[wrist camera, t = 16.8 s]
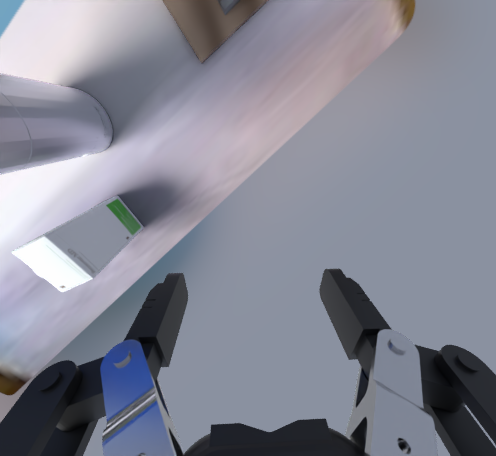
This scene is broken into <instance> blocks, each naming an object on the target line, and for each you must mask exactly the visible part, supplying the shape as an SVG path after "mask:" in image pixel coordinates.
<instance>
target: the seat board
mask: <svg viewBox="0 0 496 456" xmlns="http://www.w3.org/2000/svg"><path fill="white" fill-rule="evenodd" d="M267 1H268V0H163V2H164V4H165V5H166V7H167V8H168V10H169V12H170V13H171V15H172V16H173V18H174V20H175V21H176V23H177V24H178V26H179V28H180V29H181V31H182V33H183V34H184V36H185V37H186V39H187V41H188V42H189V44H190V45H191V47H192V49H193V50H194V52H195V53H196V55H197V57H198V58H199V60H200V62H201V63H203V62H204V61H205V60H206V59H207V58H208V57H209V56H210V55H211V54H212V53H213V52H214V51H216V50H217V49H218V48H219V47H220V46H221V45H222V44H223V43H224V42H225V41H226V40H227V39H228V38H229V37H230V36H231V35H232V34H233V33H235V32H236V31H237V30H238V29H239V28H240V27H241V26H242V25H243V24H244V23H245V22H246V21H247V20H248V19H249V18H250V17H251V16H252V15H254V14H255V13H256V12H257V11H258V10H259V9H260V8H261V7H262V6H263V5H264V4H265V3H266V2H267Z"/></svg>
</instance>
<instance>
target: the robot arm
mask: <svg viewBox="0 0 496 456" xmlns="http://www.w3.org/2000/svg"><path fill="white" fill-rule="evenodd" d="M112 137H113V129H112V125H111V121H110V119H109V116H108V115H107V113H106V111H105V110H104V108H103V107H102V106H101V105H100V103H99V102H98V101H97V100H95V99H94V98H93V97H92V96H90V95H89V94H87V93H86V92H84V91H81V90H79V89H75V88H70V87H65V86H60V85H56V84H51V83H46V82H41V81H36V80H31V79H26V78H21V77H16V76H11V75H6V74H1V73H0V175H1V174H5V173H10V172H14V171H18V170H23V169H27V168H32V167H36V166H41V165H45V164H50V163H54V162H59V161H63V160H68V159H72V158H77V157H81V156H86V155H90V154H95V153H99V152H102V151H104V150H106V149H107V148H108V146H109V145H110V143H111V141H112ZM320 296H321V300H322V302H323V304H324V306H325V308H326V311H327V313H328V315H329V317H330V319H331V322H332V323H333V326H334V328H335V330H336V332H337V335H338V337H339V339H340V341H341V343H342V346H343V348H344V350H345V352H346V354H347V356H348V358H349V360H351V359H358V361H359V363H360V365H361V366H360V368H359V373H358V379H357V385H356V391H355V397H354V403H353V408H352V412H351V416H350V418H349V421H348V425H347V429H346V434H345V436H344V435H342V434H341V433H339V432H337V431H335V430H333V429H331V428H328V425H327V422H326V419H310V420H297V421H295V422H293V423H291V424H288V425H286V426H284V427H282V428H280V429H278V430H275V431H273V432H266V431H262V430H259V429H256V428H253V427H250V426H246V425H244V424H240V423H235V424H217V425H211V433H210V434H208V435H206V436H204V437H203V438H201V439H199V440H198V441H197V442H195V443H194V444H193V445H192V446H191V447H190V448H189V449H188V450H187V451H186V452H185V453H184V451H183V448H182V445H181V442H180V439H179V436H178V434H177V431H176V429H175V426H174V424H173V421H172V419H171V416H170V413H169V410H168V407H167V404H166V402H165V398H164V395H163V393H162V390H161V387H160V384H159V381H158V378H157V377H158V374H159V371H160V368H161V367H169V364H170V360H171V357H172V354H173V350H174V347H175V343H176V340H177V336H178V333H179V329H180V326H181V323H182V319H183V315H184V312H185V309H186V305H187V301H188V291H187V287H186V283H185V278H184V275H183V273H171V274H170V273H169V274H168V275H167V276H166V278H165V281H164V283H160V284H159V283H158V284H157V285H156V286H155V287H154V288H153V289H152V290H151V291H150V292H149V294H148V296H147V298H146V301H145V302H144V304H143V305H142V309H140V311H139V313H138V315H137V317H136V319H135V321H134V323H133V324H132V326H131V328H130V330H129V332H128V334H127V336H126V338H125V339H124V341H123V342H121V343H119V344H117V345H116V346H114V347H113V348H112V349H111V350H110V351H109V352H108V353H107V354H106V355H105V356H104V357H102V358H99V359H97V360H94V361H91V362H88V363H85V364H82V365H79V366H76V365H75V363H74V362H72V361H69V360H68V361H67V360H66V361H61V362H58V363H56V364H54V365H52V366H50V367H48V368H46V369H45V370H44V371H42V372H41V373H40V374H39V375H38V376H37V377H36V378H35V379H34V380H33V381H32V382H31V383H30V384H29V386H28V387H27V389H26V390H25V391H24V393H23V394H22V395H21V396H20V398H19V399H18V401H17V402H16V403H15V404H14V406H13V407H12V408H11V410H10V411H9V412H8V414H7V415H6V416H5V418H4V419H3V420H2V422H1V423H0V456H83V454H84V452H85V449H86V447H87V445H88V442H89V440H90V438H91V436H92V433H93V431H94V429H95V426H96V424H97V422H98V419H99V418H102V417H104V416H106V418H107V427H106V429H105V430H104V432H103V436H102V445H103V455H104V456H438V453H437V444H436V434H435V430H436V431H437V433H438V435H439V436H440V438H441V440H442V442H443V443H444V445H445V447H446V448H447V450H448V452H449V453H450V455H451V456H496V448H495V447H494V445H493V444H492V443H491V441H490V440H489V439H488V437H487V436H486V435H485V433H484V432H483V430H482V429H481V428H480V427H479V425H478V424H477V422H476V421H475V420H474V418H473V417H472V416H471V414H470V413H469V412H468V410H467V409H466V408H465V405H467V407H468V408H469V409H470V411H471V412H472V413H473V415H474V416H475V417H476V418H477V420H478V421H479V423H480V424H481V425H482V427H483V428H484V429H485V431H486V432H487V433H488V435H489V436H490V437H491V439H492V440H493V441H494V443H495V444H496V375H495V374H494V373H493V372H492V371H491V370H490V369H489V368H488V367H487V366H486V364H485V363H483V362H482V361H481V360H480V359H479V358H478V357H476V356H475V355H474V354H472V353H471V352H469V351H467V350H465V349H463V348H460V347H458V346H454V345H446V346H444V347H442V349H441V350H440V351H436V350H432V349H429V348H424V347H421V346H417V345H414V344H413V343H412V342H411V341H410V340H409V339H408V338H407V337H405V336H404V335H402V334H401V333H399V332H397V331H394V330H392V329H391V328H390V327H389V325H388V324H387V323H386V321H385V320H384V319H383V317H382V316H381V314H380V313H379V312H378V310H377V309H376V307H375V306H374V305H373V303H372V302H371V301H370V299H369V298H368V297H367V295H366V294H365V292H364V291H363V290H362V288H361V287H360V286H359V284H357V283H356V282H355V281H353V280H352V279H351V278H346V276H345V275H344V274H343V272H342V271H341V270H340V269H325V271H324V273H323V277H322V282H321V285H320Z"/></svg>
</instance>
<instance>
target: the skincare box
mask: <svg viewBox="0 0 496 456" xmlns="http://www.w3.org/2000/svg"><path fill="white" fill-rule="evenodd" d="M143 228H144V227H143V225H142V224H141V223H140V222H139V221H138V219H137V218H136V217H135V216H134V214H133V213H132V212H131V211H130V210H129V208H128V207H127V206H126V205H125V204H124V202H123V201H122V200H121V199H120V197H119V196H114V197H112V198H110V199H108V200H106V201H104V202H102V203H100V204H98V205H96V206H95V207H93V208H91V209H89V210H87V211H85V212H84V213H82V214H80V215H78V216H76V217H74V218H73V219H71V220H69V221H67V222H65V223H63V224H61V225H60V226H58V227H56V228H54V229H52V230H50V231H49V232H47V233H45V234H43V235H41V236H39V237H38V238H36V239H34V240H32V241H30V242H28V243H27V244H25V245H23V246H21V247H19V248H17V249H16V250H14V251H12V253H13V254H14V255H16V256H17V257H18V258H19V259H21V260H22V261H23V262H24V263H26V264H27V265H28V266H29V267H31V268H32V269H33V271H34V272H35V273H36V274H37V275H38V276H40V277H42V278H44V279H46V280H47V281H48V282H50V283H51V284H52V285H53V286H55V287H56V288H57V289H58V290H60V291H61V292H65V291H67V290H70V289H72V288H74V287H76V286H78V285H80V284H83V283H85V282H87V281H89V280H91V279H93V278H94V277H95V276H96V275H97V274H98V273H99V272H100V271H101V270H102V269H103V268H104V267H105V266H106V265H107V264H108V263H109V262H110V261H111V260H112V259H113V258H114V257H115V256H116V255H117V254H118V253H119V252H120V251H121V250H122V249H123V248H124V247H125V246H126V245H127V244H128V243H129V242H130V241H131V240H132V239H133V238H134V237H135V236H136V235H137V234H138V233H139V232H140V231H141V230H142V229H143Z"/></svg>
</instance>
